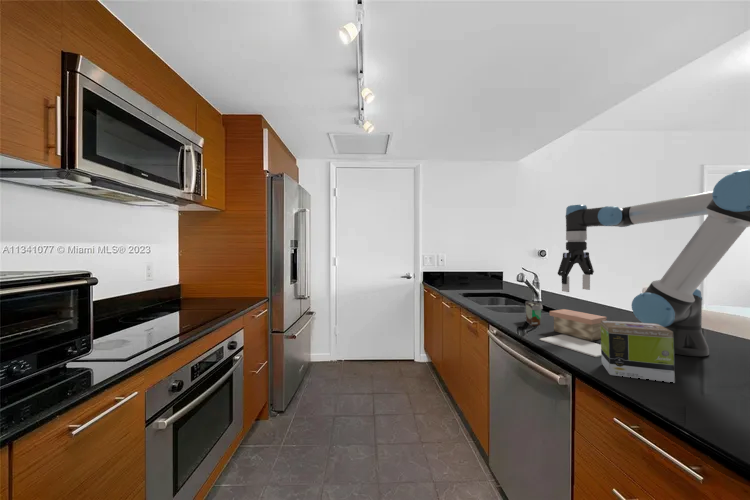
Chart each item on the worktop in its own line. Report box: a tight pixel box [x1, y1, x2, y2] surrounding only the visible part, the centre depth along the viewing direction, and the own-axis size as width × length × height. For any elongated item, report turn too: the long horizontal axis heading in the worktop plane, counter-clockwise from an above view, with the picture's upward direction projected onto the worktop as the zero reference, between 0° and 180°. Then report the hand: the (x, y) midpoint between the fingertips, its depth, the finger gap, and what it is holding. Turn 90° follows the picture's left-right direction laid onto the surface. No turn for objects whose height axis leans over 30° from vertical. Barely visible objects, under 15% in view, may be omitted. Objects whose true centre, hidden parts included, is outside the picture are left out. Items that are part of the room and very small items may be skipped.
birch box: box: [553, 316, 601, 342], centre depth 132 cm, size 16×7×7 cm, turn 24°
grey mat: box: [539, 333, 601, 358], centre depth 119 cm, size 22×14×1 cm, turn 24°
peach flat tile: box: [549, 308, 608, 325], centre depth 132 cm, size 18×10×3 cm, turn 24°
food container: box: [525, 300, 544, 327], centre depth 152 cm, size 12×6×10 cm, turn 168°
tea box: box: [600, 320, 676, 384], centre depth 93 cm, size 15×10×15 cm, turn 65°
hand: (576, 290), depth 132 cm, fingers open, 13 cm apart
